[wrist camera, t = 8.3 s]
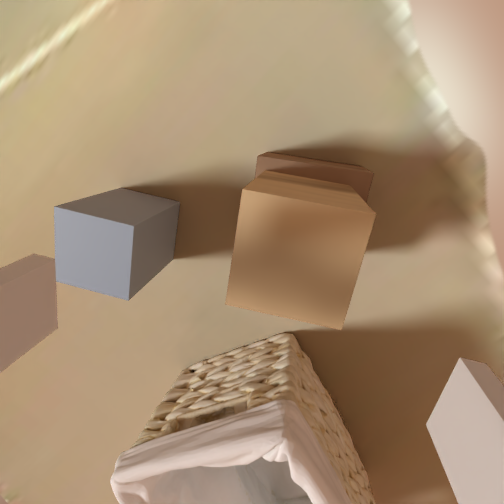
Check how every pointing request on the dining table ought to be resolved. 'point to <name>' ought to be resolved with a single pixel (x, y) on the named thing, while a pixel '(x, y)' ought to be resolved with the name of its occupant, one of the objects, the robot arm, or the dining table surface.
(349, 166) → the base block
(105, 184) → the dining table surface
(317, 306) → the oak block
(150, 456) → the storage basket
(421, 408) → the dining table surface
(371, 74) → the dining table surface
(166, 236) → the blue block
